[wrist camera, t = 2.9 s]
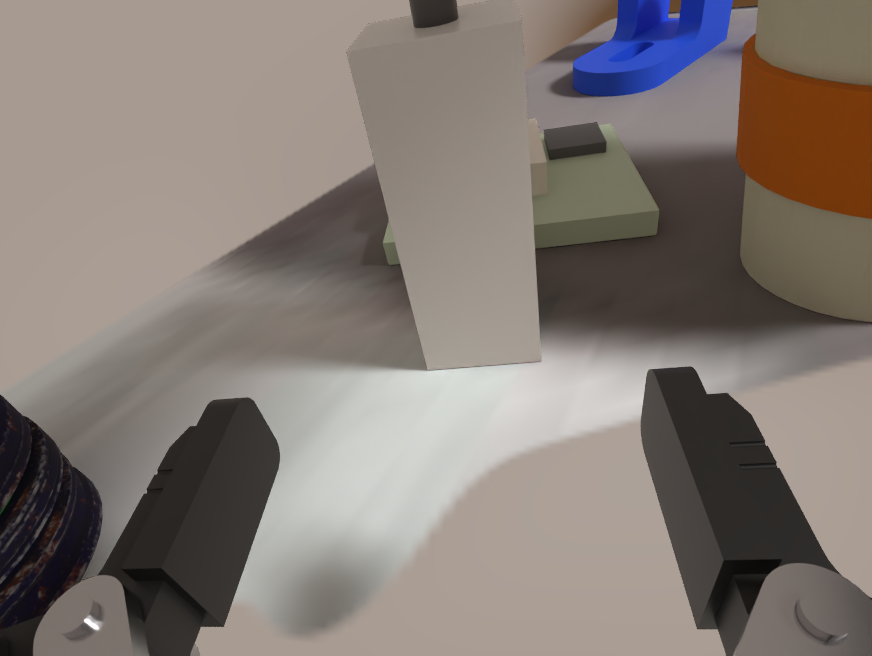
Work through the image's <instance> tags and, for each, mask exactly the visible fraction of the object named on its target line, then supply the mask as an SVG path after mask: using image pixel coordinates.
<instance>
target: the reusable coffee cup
mask: <svg viewBox="0 0 872 656" xmlns="http://www.w3.org/2000/svg"><path fill="white" fill-rule="evenodd" d="M736 157H737V160H738V163H739V166H740V167H741V168H742V170H743V171H744V172H745V173H746V177H745V191H744V204H743V218H742V232H741V245H740V257H741V261H742V265H743V266H744V268H745V269H746V271H747V272H748V274H749V275H750V276H751V277H752V278H753V279H754V280H755V281H756V282H757V283H758V284H759V285H760V286H762V287H763V288H765V289H766V290H768V291H770V292H771V293H773V294H774V295H776V296H778V297H780V298H782V299H784V300H786V301H788V302H790V303H792V304H795V305H797V306H800V307H803V308H806V309H809V310H812V311H815V312H818V313H822V314H826V315H830V316H834V317H839V318H843V319H850V320H857V321H864V322H872V0H758V13H757V26H756V34H754V35H753V36H752V37H751V38H750V39H749V40H748V41H747V42H745V44H744V48H743V53H742V70H741V86H740V103H739V119H738V136H737V152H736Z"/></svg>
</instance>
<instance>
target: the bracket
mask: <svg viewBox="0 0 872 656" xmlns="http://www.w3.org/2000/svg"><path fill="white" fill-rule="evenodd" d="M732 2H733V0H682V1H681V10H680V18H668V12H669V3H670V0H618V19H617V28H616V31H615V34H614V36H613V38H612V39H611V40H610V41H608V42H606V43H604V44H602V45H601V46H599V47H597V48H595V49H593V50H592V51H590V52H588V53H586V54H584V55H583V56H581V57H579V58H578V59H576V60H575V61H574V63H573V88H574V89H575V90H576V91H577V92H579V93H582V94H586V95H592V96H620V95H628V94H634V93H639V92H643V91H646V90H650V89H652V88H655V87H657V86H659V85H661V84H663V83H664V82H665V81H667V80H668V79H670V78H671V77H673V76H674V75H675V74H677V73H678V72H680V71H681V70H683V69H684V68H685V67H687V66H688V65H690V64H691V63H693V62H694V61H695V60H697V59H698V58H700V57H701V56H703V55H704V54H705V53H707V52H708V51H710V50H711V49H713V48H714V47H715V46H717V45H718V44H720V43H721V42H723V41H724V40H725V39H726V37H727V31H728V26H729V20H730V14H731V8H732Z"/></svg>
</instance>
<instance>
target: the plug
mask: <svg viewBox="0 0 872 656" xmlns="http://www.w3.org/2000/svg"><path fill="white" fill-rule="evenodd" d="M409 2H410V7H411V13H412V15H411V16H406V17H400V18H395V19H390V20H384V21H379V22H374V23H369V24H368V25H367V26H366V27H365V29H364V30H363V31H362V32H361V34H360V35H359V36H358V37H357V39H356V40H355V41H354V42H353V44H352V45H351V46H350V47H349V49H348V50H347V51H346V53H347V57H348V61H349V65H350V68H351V73H352V76H353V80H354V84H355V88H356V92H357V96H358V100H359V104H360V107H361V112H362V116H363V119H364V124H365V127H366V131H367V135H368V139H369V143H370V147H371V151H372V155H373V159H374V163H375V167H376V170H377V174H378V178H379V182H380V186H381V190H382V194H383V198H384V202H385V206H386V210H387V213H388V217H389V221H390V225H391V229H392V233H393V237H394V241H395V245H396V249H397V253H398V256H399V260H400V264H401V268H402V272H403V276H404V280H405V284H406V288H407V292H408V296H409V300H410V303H411V307H412V311H413V315H414V319H415V323H416V327H417V331H418V335H419V339H420V343H421V346H422V350H423V354H424V358H425V362H426V366H427V370H437V369H450V368H462V367H475V366H488V365H500V364H513V363H526V362H538V361H541V347H540V329H539V311H538V294H537V276H536V258H535V241H534V223H533V205H532V187H531V170H530V152H529V134H528V116H527V99H526V81H525V63H524V45H523V28H522V18H521V15H520V12H519V9H518V6H517V3H516V0H490V1H485V2H479V3H474V4H469V5H464V6H458V7H457V2H456V0H409Z"/></svg>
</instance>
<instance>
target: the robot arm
mask: <svg viewBox="0 0 872 656" xmlns="http://www.w3.org/2000/svg"><path fill="white" fill-rule="evenodd" d="M641 436H642V444H643V449H644V453H645V456H646V460H647V463H648V466H649V469H650V473H651V476H652V480H653V483H654V486H655V490H656V493H657V496H658V500H659V503H660V506H661V510H662V513H663V516H664V519H665V523H666V526H667V530H668V533H669V537H670V540H671V543H672V547H673V550H674V553H675V557H676V560H677V563H678V567H679V570H680V573H681V577H682V580H683V583H684V587H685V590H686V593H687V597H688V600H689V603H690V606H691V610H692V613H693V617H694V620H695V623H696V626H697V629H718V631H719V634H720V637H721V640H722V643H723V646H724V649H725V653H726V656H872V598H870V597H868V596H867V595H866V594H865V593H864V592H863V591H862V590H861V589H860V588H858V587H857V586H856V585H854V584H853V583H852V582H850V581H849V580H848V579H846V578H844V577H843V576H842V575H841V574H840V573H839V572H838V571H837V570H836V569H835V568H834V566H833V565H832V564H831V563H830V561H829V560H828V558H827V557H826V555H825V553H824V552H823V550H822V548H821V546H820V544H819V542H818V541H817V539H816V537H815V535H814V533H813V531H812V529H811V527H810V525H809V523H808V522H807V520H806V518H805V516H804V514H803V512H802V510H801V508H800V506H799V505H798V503H797V501H796V499H795V497H794V495H793V493H792V491H791V489H790V487H789V485H788V484H787V482H786V480H785V478H784V476H783V474H782V472H781V470H780V469H779V468H777V466H776V461H775V459H774V457H773V455H772V453H771V451H770V449H769V447H768V446H766V445H765V440H764V438H763V436H762V434H761V432H760V430H759V428H758V427H757V425H756V423H755V421H754V419H753V417H752V415H751V414H750V413H749V412H748V411H747V410H746V409H744V408H743V407H742V406H741V405H740V404H739V403H738V402H737V401H735V400H734V399H733V398H732V397H731V396H730V395H729V394H728V393H720V394H707V393H706V391H705V389H704V387H703V385H702V382H701V380H700V378H699V376H698V374H697V372H696V370H695V369H694V368H693V367H677V368H663V369H650V370H648V373H647V377H646V385H645V392H644V400H643V408H642V416H641ZM279 461H280V452H279V446H278V443H277V440H276V438H275V437H274V435H273V433H272V432H271V430H270V428H269V426H268V425H267V423H266V421H265V419H264V418H263V416H262V414H261V412H260V411H259V409H258V407H257V406H256V404H255V402H254V401H253V400H252V399H250V398H234V399H221V400H213V401H211V402H210V403H209V404H208V405H207V407H206V409H205V410H204V412H203V414H202V416H201V418H200V420H199V422H198V424H197V426H190V427H189V428H188V429H187V430H186V431H185V432H184V433H183V434H182V435H181V436H180V437H179V438H178V439H177V440H176V441H175V442H174V443H173V445H172V446H171V447H170V448H169V450H168V452H167V453H166V455H165V457H164V459H163V461H162V462H161V464H160V466H159V468H158V470H157V471H158V473H157V475H154V477H153V479H152V480H151V482H150V484H149V486H148V488H147V493H146V494H144V495H143V497H142V498H141V500H140V502H139V504H138V506H137V507H136V509H135V511H134V513H133V515H132V516H131V518H130V520H129V522H128V524H127V525H126V527H125V529H124V531H123V533H122V534H121V536H120V538H119V540H118V542H117V543H116V545H115V547H114V549H113V551H112V552H111V554H110V556H109V558H108V560H107V561H106V563H105V565H104V567H103V568H102V570H101V571H100V573H99V574H98V575H97V576H94V577H91V578H88V579H86V580H83V581H82V582H80V583H78V584H76V585H75V586H73V587H72V588H70V589H69V590H68V591H66V592H65V593H64V594H63V595H62V596H61V597H60V598H58V599H57V600H56V601H55V603H54V604H53V605H52V606H51V607H50V608H49V610H48V611H47V613H46V614H44V615H41V616H39V617H36V618H33V619H30V620H27V621H25V622H22V623H19V624H16V625H13V626H10V627H8V628H5V629H2V630H0V656H200V652H199V650H198V647H197V646H196V644H195V641H196V638H197V635H198V633H199V630H200V627H224V624H225V622H226V619H227V616H228V613H229V610H230V607H231V604H232V601H233V599H234V596H235V593H236V590H237V587H238V584H239V581H240V578H241V575H242V573H243V570H244V567H245V564H246V561H247V558H248V555H249V552H250V549H251V546H252V544H253V541H254V538H255V535H256V532H257V529H258V526H259V523H260V520H261V518H262V515H263V512H264V509H265V506H266V503H267V500H268V497H269V494H270V492H271V489H272V486H273V483H274V480H275V477H276V474H277V471H278V468H279Z"/></svg>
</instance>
